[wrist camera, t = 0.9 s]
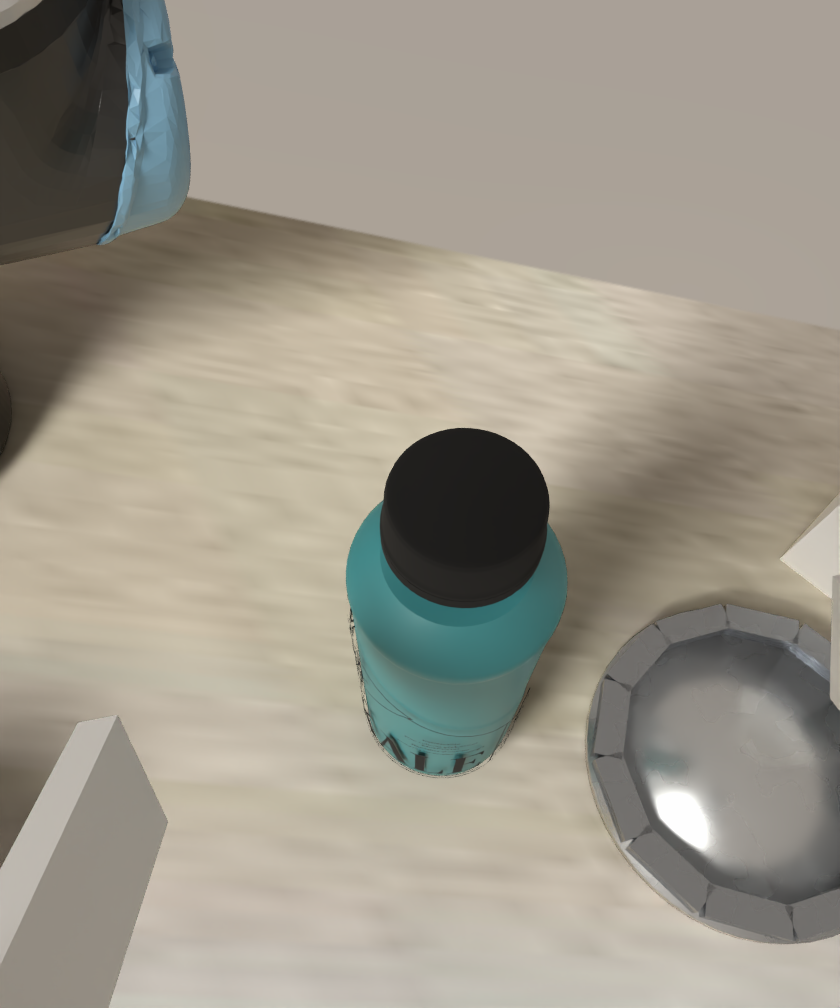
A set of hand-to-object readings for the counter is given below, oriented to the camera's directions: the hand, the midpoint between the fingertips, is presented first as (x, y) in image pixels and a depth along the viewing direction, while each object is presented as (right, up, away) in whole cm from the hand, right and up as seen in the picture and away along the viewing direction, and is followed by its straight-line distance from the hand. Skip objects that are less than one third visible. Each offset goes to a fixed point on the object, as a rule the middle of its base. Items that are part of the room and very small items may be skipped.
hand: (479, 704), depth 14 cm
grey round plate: (+13, -8, +20) cm, 25 cm away
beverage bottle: (0, -6, +21) cm, 22 cm away
